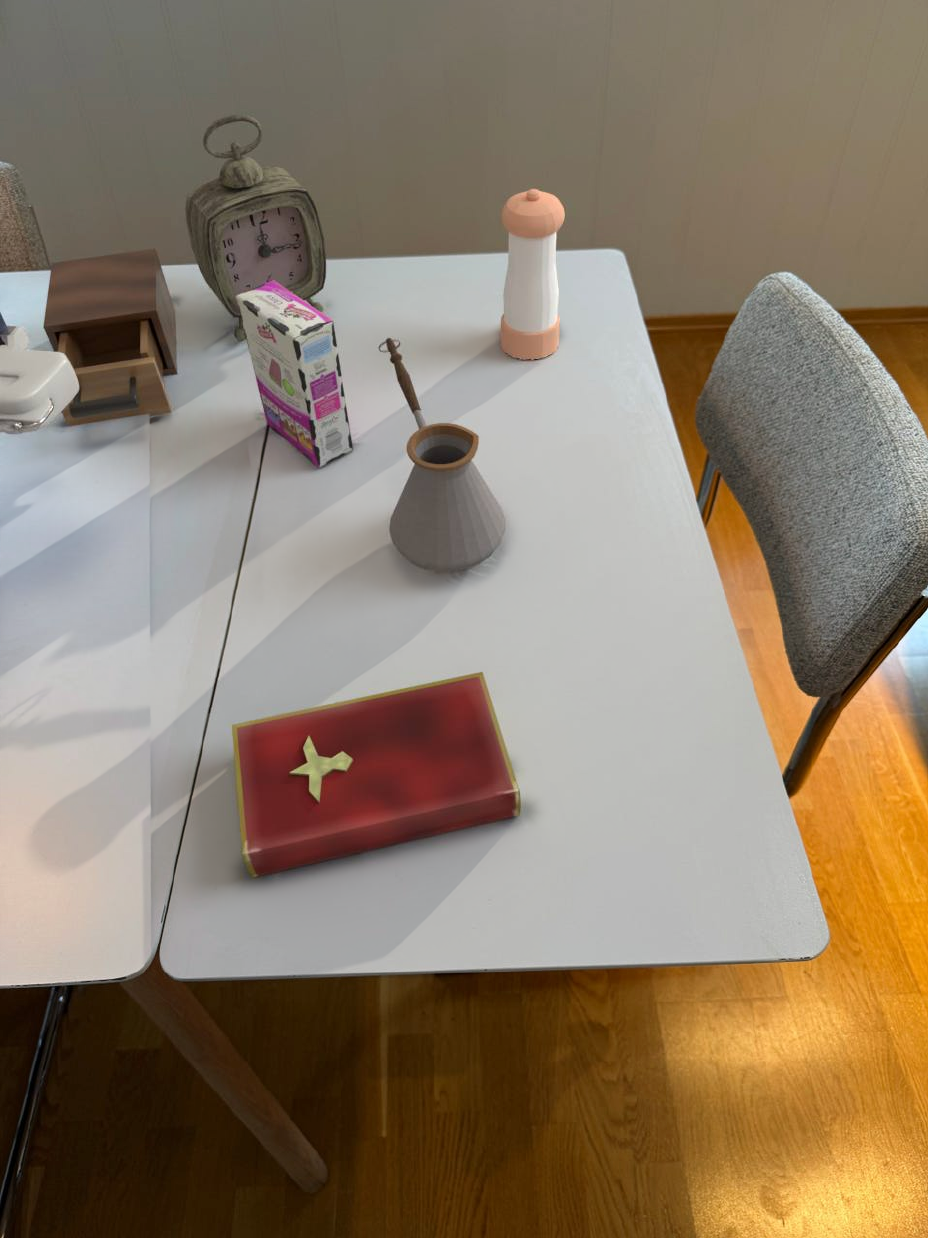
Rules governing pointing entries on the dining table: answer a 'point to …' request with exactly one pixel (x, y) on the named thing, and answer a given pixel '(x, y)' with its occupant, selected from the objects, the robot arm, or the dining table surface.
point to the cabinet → (112, 297)
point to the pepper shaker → (531, 275)
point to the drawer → (115, 372)
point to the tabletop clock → (254, 228)
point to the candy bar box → (297, 371)
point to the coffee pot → (443, 494)
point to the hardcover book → (370, 773)
